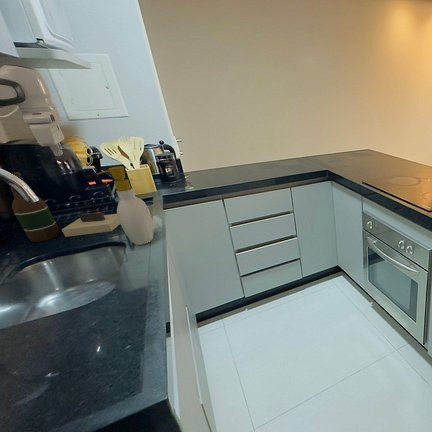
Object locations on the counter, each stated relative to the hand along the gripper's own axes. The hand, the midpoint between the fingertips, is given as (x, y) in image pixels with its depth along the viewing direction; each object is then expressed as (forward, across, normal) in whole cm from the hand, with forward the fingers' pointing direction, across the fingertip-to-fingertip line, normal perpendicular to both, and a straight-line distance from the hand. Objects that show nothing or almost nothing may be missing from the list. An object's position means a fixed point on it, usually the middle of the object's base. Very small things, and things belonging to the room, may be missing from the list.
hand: (59, 155), depth 110 cm
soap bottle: (+27, +37, +17) cm, 49 cm away
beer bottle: (+27, +11, -10) cm, 31 cm away
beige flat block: (+26, +12, +4) cm, 29 cm away
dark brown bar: (+23, +12, +4) cm, 27 cm away
